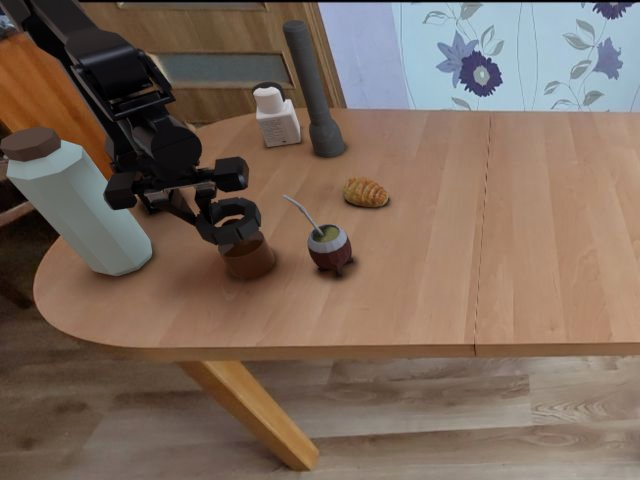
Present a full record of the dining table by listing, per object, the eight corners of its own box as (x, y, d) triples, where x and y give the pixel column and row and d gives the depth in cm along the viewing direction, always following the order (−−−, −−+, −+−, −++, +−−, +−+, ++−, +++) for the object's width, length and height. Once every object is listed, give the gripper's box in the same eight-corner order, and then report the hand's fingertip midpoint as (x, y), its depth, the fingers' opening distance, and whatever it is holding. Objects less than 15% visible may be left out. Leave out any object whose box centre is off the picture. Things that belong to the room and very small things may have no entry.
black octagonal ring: (261, 204, 83) (256, 193, 81) (260, 238, 77) (255, 227, 75) (205, 214, 81) (198, 203, 79) (199, 249, 75) (192, 238, 73)
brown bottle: (239, 286, 82) (216, 246, 75) (224, 262, 85) (200, 223, 79) (281, 265, 85) (263, 226, 78) (264, 244, 89) (245, 204, 82)
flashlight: (336, 138, 115) (309, 147, 112) (303, 14, 94) (269, 22, 91) (349, 150, 111) (322, 160, 108) (318, 25, 91) (282, 33, 88)
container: (268, 131, 117) (248, 80, 107) (300, 127, 118) (283, 76, 109) (267, 147, 112) (246, 95, 102) (300, 143, 113) (283, 91, 104)
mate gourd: (360, 272, 84) (341, 207, 73) (316, 286, 82) (289, 221, 71) (350, 246, 89) (330, 181, 78) (307, 259, 86) (281, 194, 75)
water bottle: (146, 276, 83) (48, 154, 64) (85, 282, 82) (-33, 160, 63) (164, 238, 89) (80, 118, 71) (107, 244, 88) (7, 122, 70)
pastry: (395, 195, 100) (393, 180, 97) (378, 213, 96) (375, 199, 93) (358, 184, 102) (354, 170, 99) (340, 202, 98) (336, 187, 95)
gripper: (230, 104, 73) (265, 186, 84) (94, 121, 68) (150, 204, 80) (225, 141, 65) (264, 225, 77) (72, 162, 61) (138, 247, 73)
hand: (205, 224), depth 77 cm, fingers closed on black octagonal ring, 2 cm apart
